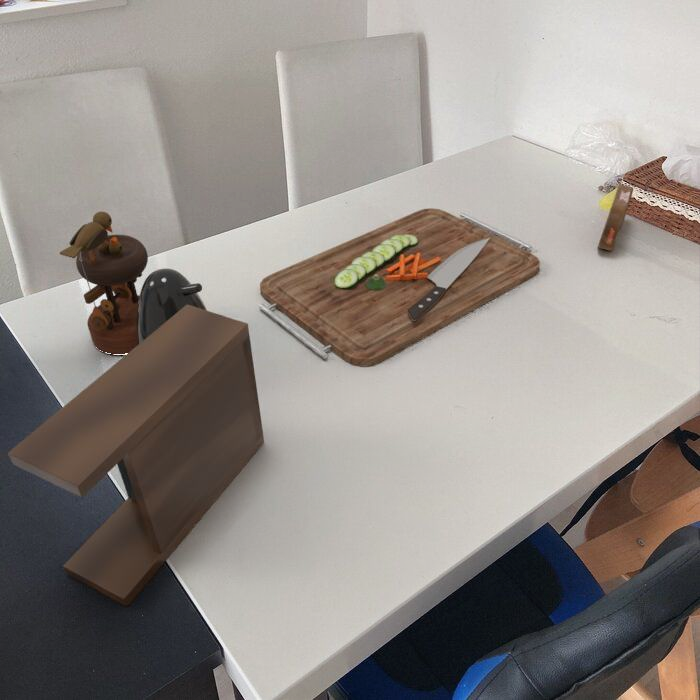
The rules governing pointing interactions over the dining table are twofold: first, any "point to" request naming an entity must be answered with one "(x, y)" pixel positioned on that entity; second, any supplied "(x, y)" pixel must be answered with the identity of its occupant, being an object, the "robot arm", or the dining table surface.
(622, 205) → the tin
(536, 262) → the chopping board
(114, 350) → the music box
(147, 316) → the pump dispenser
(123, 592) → the cabinet frame
